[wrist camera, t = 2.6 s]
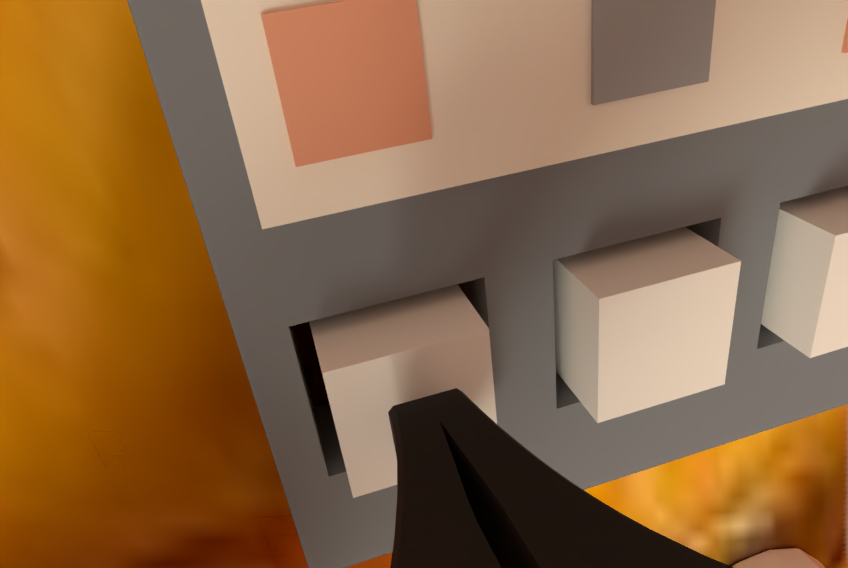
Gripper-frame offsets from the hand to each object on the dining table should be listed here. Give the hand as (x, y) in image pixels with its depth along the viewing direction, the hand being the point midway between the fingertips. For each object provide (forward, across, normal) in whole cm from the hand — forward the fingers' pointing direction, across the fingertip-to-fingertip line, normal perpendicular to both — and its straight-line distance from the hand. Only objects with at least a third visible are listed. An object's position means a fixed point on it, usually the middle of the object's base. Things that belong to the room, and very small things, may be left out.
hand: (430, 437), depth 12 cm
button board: (+4, -5, -2) cm, 7 cm away
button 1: (+3, -11, 0) cm, 11 cm away
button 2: (+3, 0, 0) cm, 3 cm away
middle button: (+3, -5, 0) cm, 6 cm away
